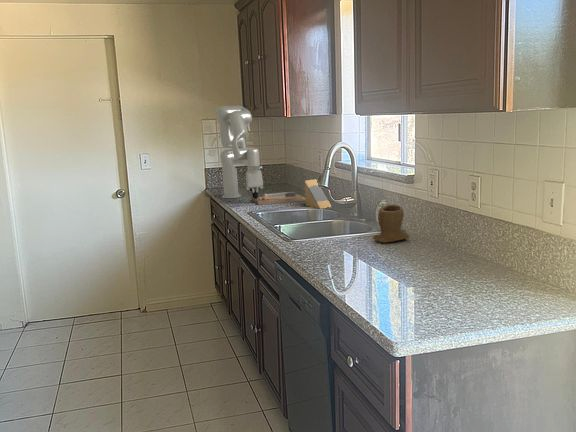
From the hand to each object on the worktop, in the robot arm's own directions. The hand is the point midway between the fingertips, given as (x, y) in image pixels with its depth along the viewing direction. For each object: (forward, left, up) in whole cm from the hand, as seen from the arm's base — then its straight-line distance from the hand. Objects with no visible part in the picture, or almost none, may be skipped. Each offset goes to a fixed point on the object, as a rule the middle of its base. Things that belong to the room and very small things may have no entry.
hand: (255, 198), depth 353 cm
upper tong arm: (-3, +16, 0) cm, 17 cm away
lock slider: (0, +7, -1) cm, 7 cm away
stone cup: (+131, +28, -3) cm, 134 cm away
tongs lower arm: (-3, +15, -1) cm, 15 cm away
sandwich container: (+32, +30, -3) cm, 44 cm away
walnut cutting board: (-3, +15, -3) cm, 16 cm away
